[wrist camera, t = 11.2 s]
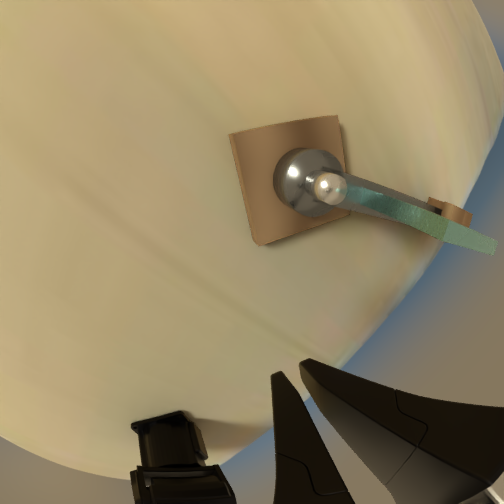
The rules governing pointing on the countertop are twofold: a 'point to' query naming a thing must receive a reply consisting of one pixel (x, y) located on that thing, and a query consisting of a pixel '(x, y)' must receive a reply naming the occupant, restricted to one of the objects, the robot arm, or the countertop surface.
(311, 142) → the pintle block
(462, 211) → the block
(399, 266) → the countertop surface
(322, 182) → the link
